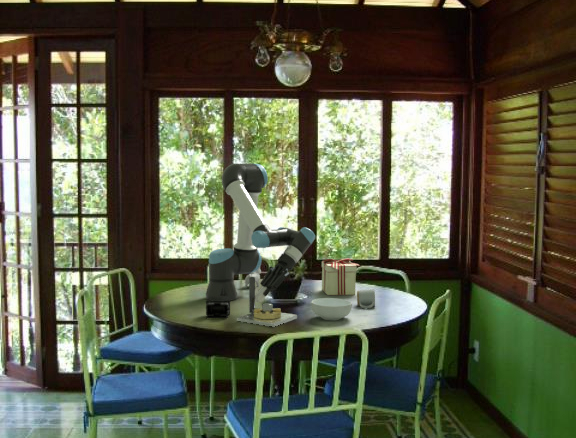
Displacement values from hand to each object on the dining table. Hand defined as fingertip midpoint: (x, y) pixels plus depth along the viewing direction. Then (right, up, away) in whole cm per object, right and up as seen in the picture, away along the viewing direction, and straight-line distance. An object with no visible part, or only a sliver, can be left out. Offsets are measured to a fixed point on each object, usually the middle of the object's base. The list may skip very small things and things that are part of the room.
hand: (257, 300), depth 285 cm
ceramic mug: (+49, -6, +21) cm, 53 cm away
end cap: (-17, -7, -1) cm, 18 cm away
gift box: (+39, -3, +53) cm, 66 cm away
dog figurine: (-5, -2, +68) cm, 68 cm away
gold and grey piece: (+3, -5, -5) cm, 8 cm away
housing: (+5, -7, -7) cm, 11 cm away
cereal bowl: (+31, -7, -3) cm, 32 cm away
